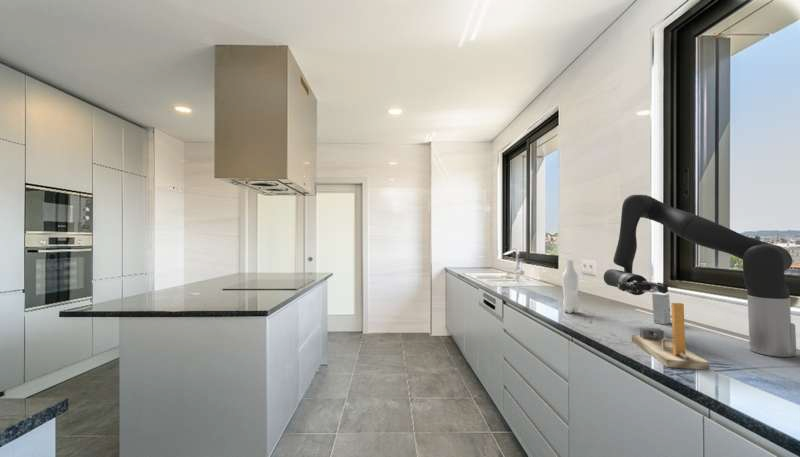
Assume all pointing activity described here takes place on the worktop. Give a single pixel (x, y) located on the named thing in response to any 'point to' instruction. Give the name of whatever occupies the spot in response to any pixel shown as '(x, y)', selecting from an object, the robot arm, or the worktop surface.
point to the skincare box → (661, 308)
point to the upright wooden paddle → (677, 331)
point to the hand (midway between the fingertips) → (650, 289)
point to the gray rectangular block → (651, 333)
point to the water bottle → (570, 288)
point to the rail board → (670, 354)
